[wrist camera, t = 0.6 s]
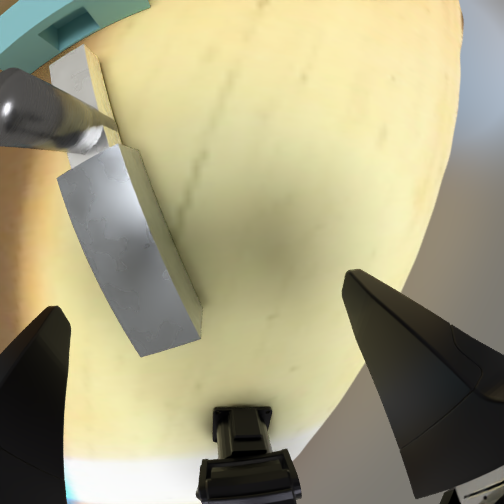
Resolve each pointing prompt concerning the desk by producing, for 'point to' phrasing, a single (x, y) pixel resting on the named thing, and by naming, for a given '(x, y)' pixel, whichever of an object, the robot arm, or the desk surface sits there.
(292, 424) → the desk surface
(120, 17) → the socket block
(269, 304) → the desk surface
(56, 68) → the grey piece
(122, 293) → the grey long rectangular block
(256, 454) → the robot arm
